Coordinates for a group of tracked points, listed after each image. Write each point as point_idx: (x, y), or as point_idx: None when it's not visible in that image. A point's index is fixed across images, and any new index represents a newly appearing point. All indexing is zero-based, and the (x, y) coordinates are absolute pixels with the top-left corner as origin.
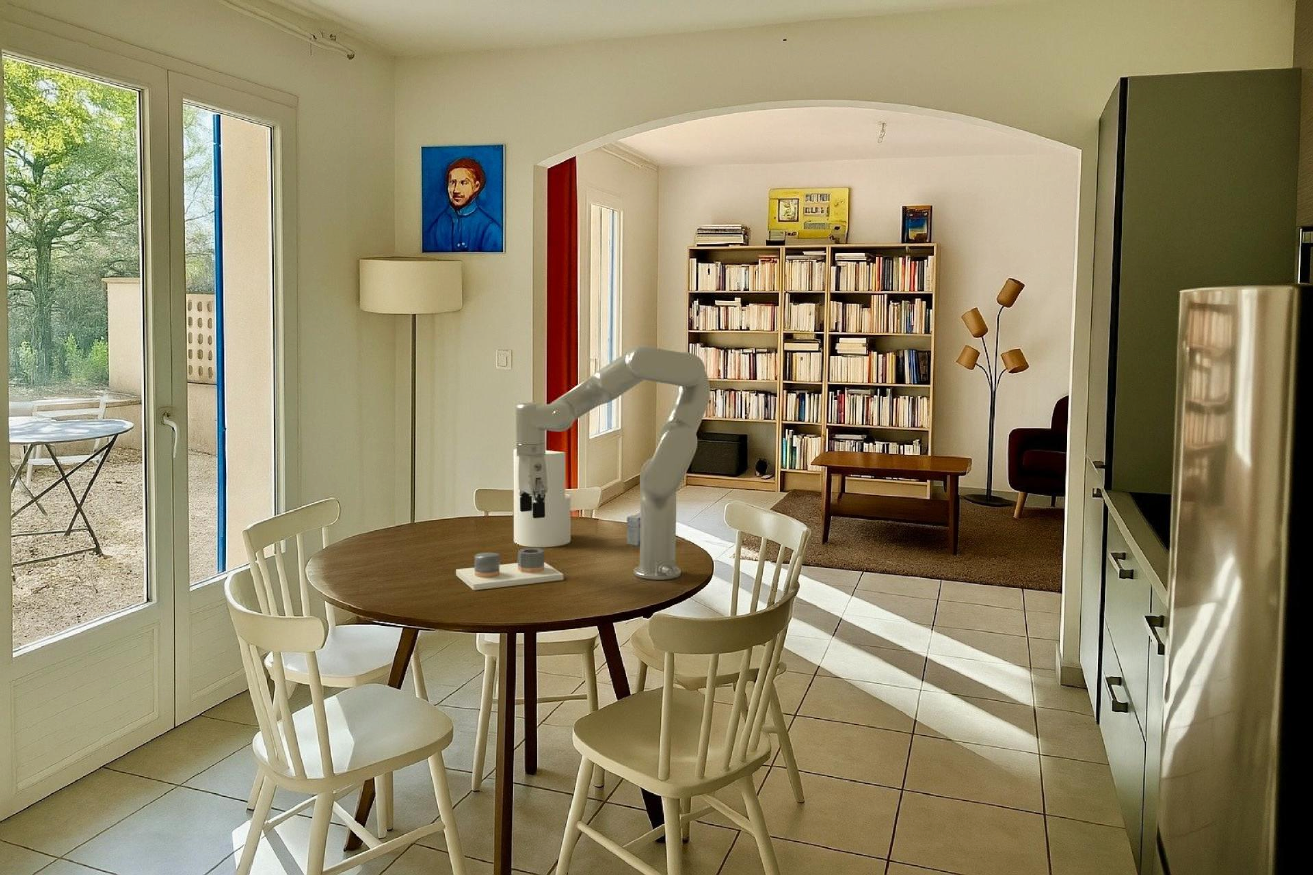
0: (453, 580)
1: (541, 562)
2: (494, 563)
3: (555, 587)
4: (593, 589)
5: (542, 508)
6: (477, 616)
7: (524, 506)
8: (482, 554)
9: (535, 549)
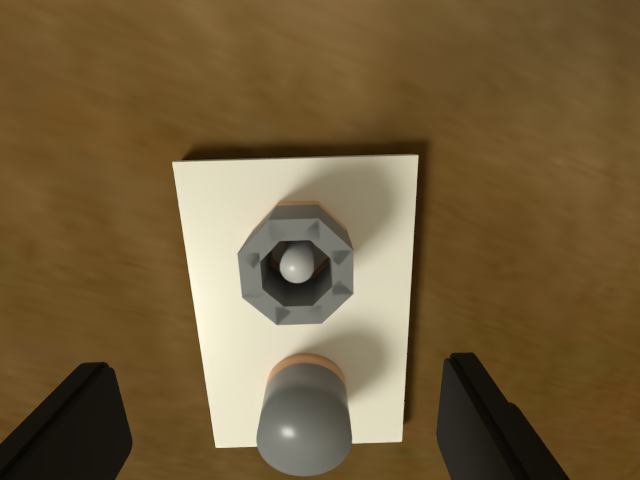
0: None
1: (337, 226)
2: (347, 408)
3: (488, 214)
4: (588, 94)
5: (549, 457)
6: (617, 464)
7: (100, 464)
8: (283, 449)
9: (273, 246)
